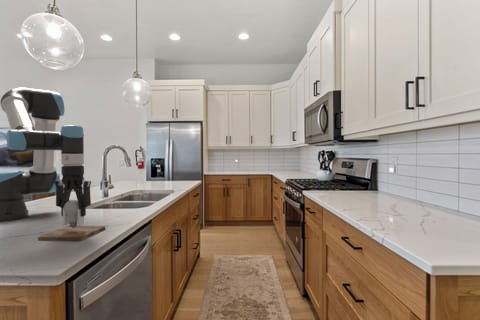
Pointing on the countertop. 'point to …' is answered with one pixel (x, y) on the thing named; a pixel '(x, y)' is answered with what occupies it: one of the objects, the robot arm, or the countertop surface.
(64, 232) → the plate
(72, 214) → the lightbulb
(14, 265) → the countertop surface
